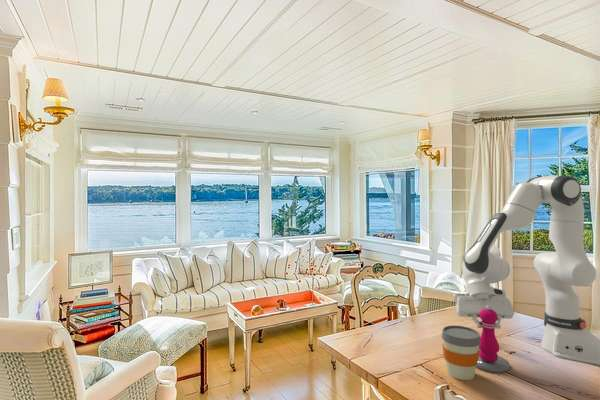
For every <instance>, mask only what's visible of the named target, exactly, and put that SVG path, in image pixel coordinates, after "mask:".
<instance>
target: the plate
mask: <svg viewBox="0 0 600 400" xmlns="http://www.w3.org/2000/svg"><path fill="white" fill-rule="evenodd" d="M510 367H511V366H510V361H508V360H507V359H506V358H504V357H503V356H500V355H498V360H497V361H494V362H490V361H486V360H483V359H481V358H480V357H479V358H478V364H477V365H476V369H478V370H480V371H483V372H487V373H493V374H494V373H495V374H500V373H501V374H502V373H506V372H509V370H510Z"/></svg>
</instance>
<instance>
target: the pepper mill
mask: <svg viewBox="0 0 600 400" xmlns="http://www.w3.org/2000/svg"><path fill="white" fill-rule="evenodd" d="M479 319H480V322H482V328H481V329H482V331H481V335H480V345H479V350H480V352H479V357H480V358H481V359H483V360H486V361H490V362H494V361H497V360H498V356H499V354H498V352H499V351H500V343H499V342H498V340H497V337H496V334H495V333H496V332H495V328H496V323H497V321H498V320H497V319H498V316H497V313H496V312H495V311H493V310H491V306H490V305H487V306H486V309H483V310H482V311H481V312H480V317H479Z"/></svg>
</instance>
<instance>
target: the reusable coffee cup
mask: <svg viewBox="0 0 600 400" xmlns="http://www.w3.org/2000/svg"><path fill="white" fill-rule="evenodd" d="M480 336H481V335H480V333H479V332H478V331H477V330H476V329H473V328H471V327H468V326H463V325H453V324H452V325H446V326H444V327H443V328H442V332H441V338H442V353H443V358H444V360H445V366H446V372H447V374H448V375H449V376H450V377H452V378H454V379H458V380H461V381H470V380H473V379H474V378H475V375H476V369H477V368H476V365H477V364H478V358H479V352H480V349H479V345H480Z"/></svg>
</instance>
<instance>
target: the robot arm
mask: <svg viewBox="0 0 600 400" xmlns="http://www.w3.org/2000/svg"><path fill="white" fill-rule="evenodd" d="M581 193H582V187H581V183H580V181H579V180H578V179H577V178H576V177H574V176H571V175H565V174H562V175H556V174H555V175H554V174H553V175H552V174H551V175H550V174H549V175H546V176H544V175H543V176H535V177H532V178H530V179H528V180H527V181H525V182H520V183H518V184H517V185H516V186H515V187H514V188H513V190H512V191H511V193H510V194H509V196H508V197H507V200H506V202H505V204H504V206H503V208H502V209H501V210H500V211H499V212H497V213H494V214H493V216H491V218H489V220H488V221H487V223H486V225H485V226H484V228H483V230H481V232H480V233H479V235H478V237H477V239H476V240H475V241H474V243H473V244H472V245H471V247H470V248H469V249H468V250H467V251H466V252H465V254H464V256H463V257H464V258H463V262H462V265H461V270H462V276H463V281H464V282H465V283H466V284H465V285H466V292H467V293H460V292H459V293H456V294H454V295H453V301H454V302H455V307H456V314H457V316H458V317H460V318H462V317H463V318H471V320H472V321H473V322H474V323H475V324H476V327H477V329H478V328H479V329H483V328H482V322H481V321H479V319H478V318H480V312H481V311H482V310H483V309H486V306H487V305H490V306H491V310H493V311H495V312H496V313H497V316H498V319H497V321H496V322H495V323H496V328H495V329H498V330H500V329H501V328H502V327H501V320H502V319H504V320H505V319H507V320H510V319H512V318H513V317H514V315H515V310H514V307H513V305H512V302H511V301H510V299H509V298H508V297H506V296H507V294H506V291H505V290H503V289H500V288H496V287H493V286H491V284H496V283H499V282H502V281H504V280H505V279H506V278H508V276H509V274H510V270H511V269H510V264H509V262H507V260H505V259H503V258H502V257H500V256H498V255H495V254H494V253H491V249H492V247H493V245H494V244H495V243H496V241H497V239H498V238H499V236H500V234H502V233H503V232H504V231H505V232H506V231H520V230H523V229H527V228H528V227H530V225H531V224H532V222H533V221H534V219H535V217H536V214H537V211H538V209H539V207H540V204H542V203H544V204H549V205H550V207H551V210H550V216H549V217H550V218H549V229H548V239H549V241H550V242H551V243H552V244H553V248H554V249H555V252H553V251H544V252H540V253H538V254H537V255H535V257H534V259H533V267H534V269H535V271H536V272H537V273H538V275H539V277H540V279H541V282H542V286H543V290H544V293H545V311H544V314H543V325H544V331H543V334H542V335H543V336H542V339H541V342H540V346H541V348H542V349H543V350H545V351H547V352H549V353H551V354H552V355H554V356H556V357H557V358H562V359H567V360H572V361H577V362H582V363H586V364H587V363H588V364H594V365H598V366H600V338H599V337H597V336H596V335H595V334H593V333H592V332H591V331H590V330H588V329H587V323H586V320H585V318H581V317H580V299H579V296H578V295H577V293H576V292H575V290H574V288H573V287H572V286H575V287H587V286H590V285H592V284H593V283H594V282H595V280H596V278H597V270H596V268H595V266H594V264H592V262H591V261H590V260H589V258H588V256H587V253H586V250H585V244H584V228H585V226H584V225H585V208H584V207H585V206H584V202H583V199H582V197H581Z"/></svg>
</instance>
